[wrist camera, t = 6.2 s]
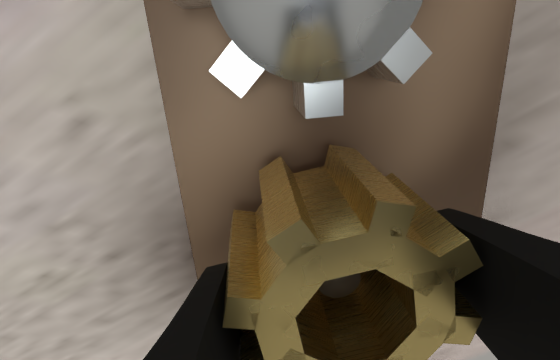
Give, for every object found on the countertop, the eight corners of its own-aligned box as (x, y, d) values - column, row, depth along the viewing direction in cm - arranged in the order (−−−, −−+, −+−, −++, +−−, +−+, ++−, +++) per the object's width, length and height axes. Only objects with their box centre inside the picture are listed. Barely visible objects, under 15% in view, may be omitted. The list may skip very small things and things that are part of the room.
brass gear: (410, 280, 12) (481, 381, 9) (256, 316, 12) (261, 434, 9) (398, 128, 10) (485, 176, 7) (211, 171, 10) (192, 244, 6)
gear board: (514, -145, 10) (710, -283, 6) (452, 297, 16) (528, 386, 12) (127, -129, 9) (32, -275, 5) (212, 329, 15) (201, 436, 11)
